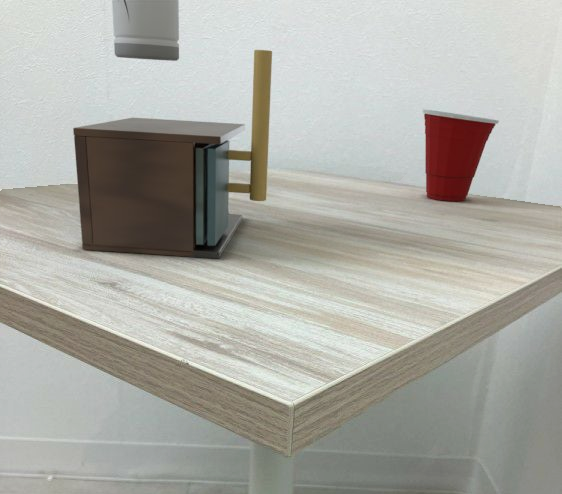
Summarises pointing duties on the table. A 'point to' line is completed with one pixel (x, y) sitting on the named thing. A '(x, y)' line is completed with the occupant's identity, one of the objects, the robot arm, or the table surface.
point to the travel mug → (146, 29)
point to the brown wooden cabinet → (149, 186)
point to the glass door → (241, 155)
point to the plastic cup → (453, 152)
